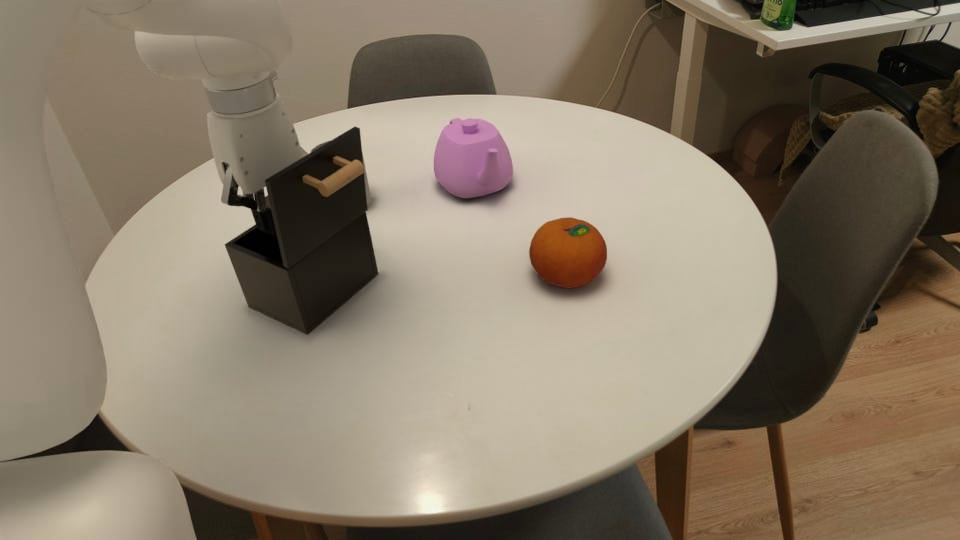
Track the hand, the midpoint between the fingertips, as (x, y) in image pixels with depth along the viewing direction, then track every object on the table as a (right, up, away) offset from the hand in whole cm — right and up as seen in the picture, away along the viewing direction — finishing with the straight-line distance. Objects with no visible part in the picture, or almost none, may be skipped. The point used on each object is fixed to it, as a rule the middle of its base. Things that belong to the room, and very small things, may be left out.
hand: (281, 222), depth 85 cm
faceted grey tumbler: (+4, +5, +24) cm, 24 cm away
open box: (+3, -9, +5) cm, 11 cm away
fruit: (+39, -7, +4) cm, 40 cm away
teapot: (+26, +8, +26) cm, 37 cm away
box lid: (+7, +3, -8) cm, 11 cm away
